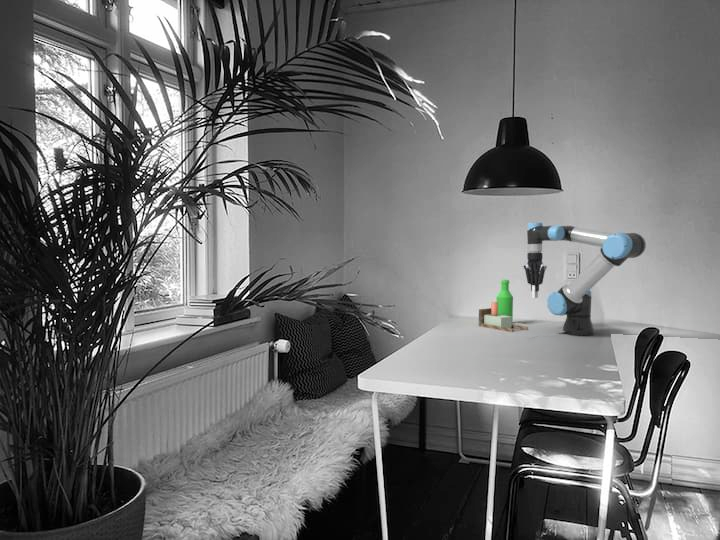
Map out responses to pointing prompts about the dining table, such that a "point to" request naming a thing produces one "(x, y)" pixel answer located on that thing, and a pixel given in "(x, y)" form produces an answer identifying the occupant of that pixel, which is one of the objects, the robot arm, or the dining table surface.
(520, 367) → the dining table surface
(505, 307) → the bottle
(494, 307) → the dowel
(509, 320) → the socket block
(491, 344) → the dining table surface
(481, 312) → the channel board
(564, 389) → the dining table surface
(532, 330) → the dining table surface
